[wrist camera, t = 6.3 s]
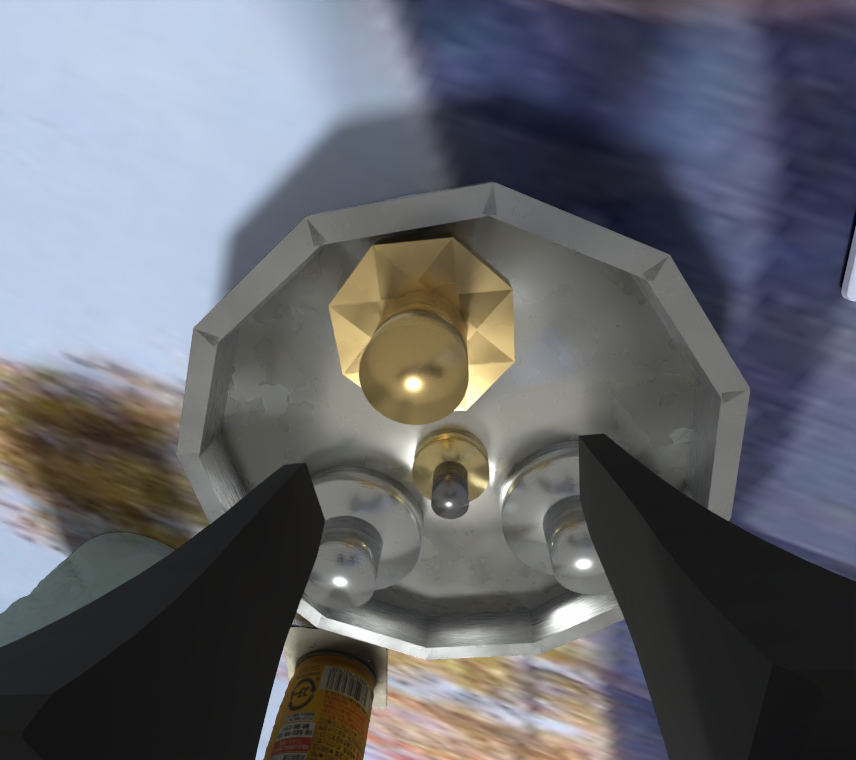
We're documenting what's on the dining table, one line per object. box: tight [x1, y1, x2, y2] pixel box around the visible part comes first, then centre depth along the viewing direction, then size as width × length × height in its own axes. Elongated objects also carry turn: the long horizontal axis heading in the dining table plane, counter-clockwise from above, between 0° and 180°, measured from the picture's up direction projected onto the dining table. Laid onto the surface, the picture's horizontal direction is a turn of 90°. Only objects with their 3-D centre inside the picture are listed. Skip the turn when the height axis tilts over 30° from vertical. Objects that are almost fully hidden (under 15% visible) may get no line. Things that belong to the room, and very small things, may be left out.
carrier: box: [176, 181, 750, 660], centre depth 20 cm, size 24×24×6 cm
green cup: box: [0, 532, 175, 647], centre depth 24 cm, size 10×10×12 cm
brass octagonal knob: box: [329, 232, 515, 425], centre depth 16 cm, size 7×7×6 cm
